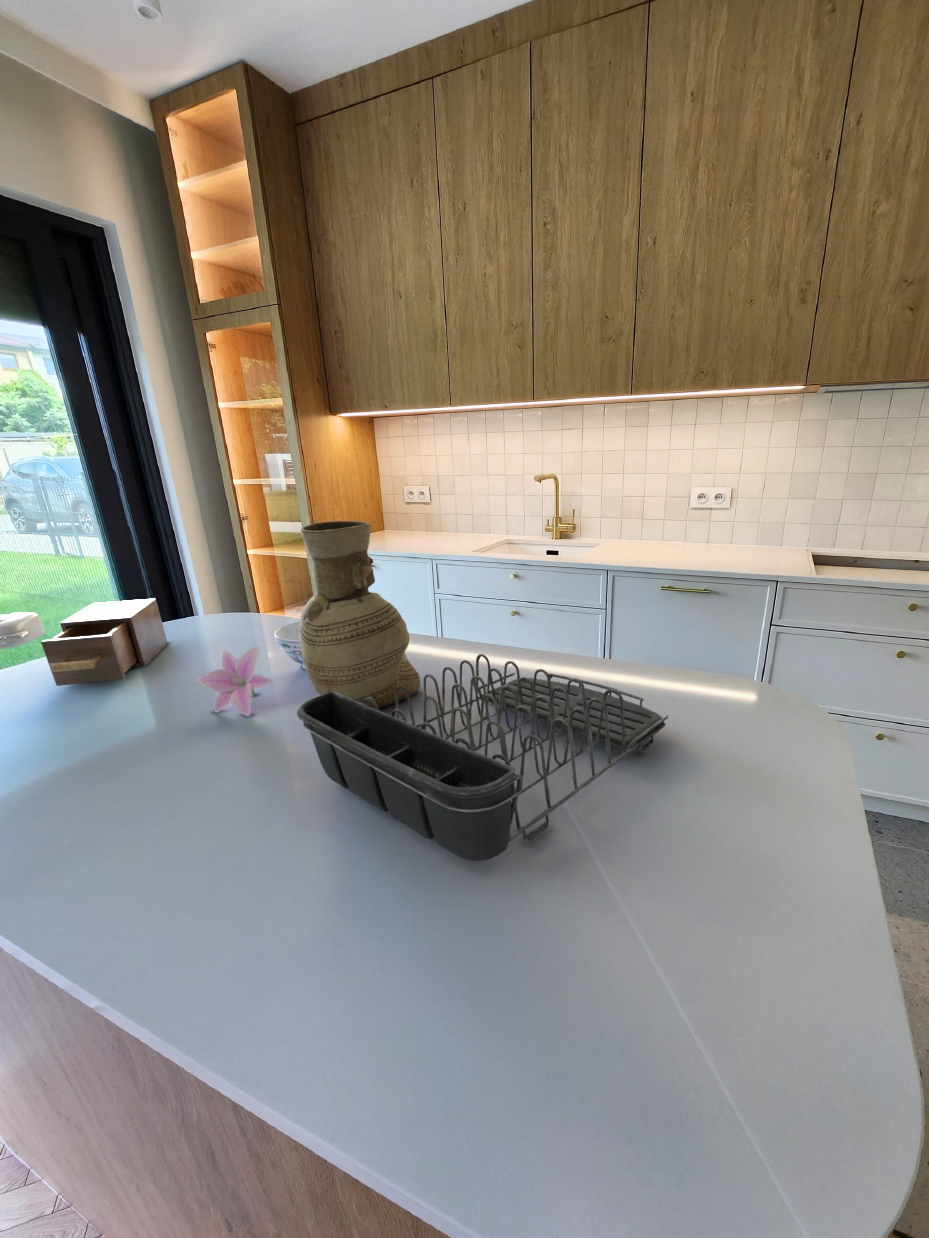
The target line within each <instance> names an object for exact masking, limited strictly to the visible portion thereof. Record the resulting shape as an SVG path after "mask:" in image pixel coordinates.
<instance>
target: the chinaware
mask: <svg viewBox="0 0 929 1238" xmlns="http://www.w3.org/2000/svg"><path fill="white" fill-rule="evenodd" d="M299 628H300V620H299V621H294V622H291V623H287V624H285V625H282V626H281V627H279V628H278V629H276V630H275V632H274V638H275V640H276V642H277V644H278V646H279V648H280V650H282V652H283V653H284V654H285V655H286V656H287V657H288V658H289V659H291V660H292V661H293V662H295V663H297V664H300V665H302V667H303V669H304V670H306V669H305V666H304V663H303V658H302V653H301V646H300V637H299Z"/></svg>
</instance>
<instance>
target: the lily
mask: <svg viewBox="0 0 929 1238" xmlns="http://www.w3.org/2000/svg"><path fill="white" fill-rule="evenodd" d="M259 651H260V646H259V645H255V646H253V647H251V648H250V649H247V650H246V651H245V652H244V653H242V654H241V655H240V656H239V657H238V658H236V657H235V656H234V655H233V654H232V653H231V652H229V650H227V649H224V650H223V651H222V656H221V668H218V669H214V670H212V671H209V672H207V673H204V674H202V675H201V676H199V677H198V678H197V683H199V684H200V685H201V686H203V687H205V688H207V689H209V690H211V691H213V692H217V693H218V694H217V696H216V701H215V705H214V713H215V714H216V713H219V712H220V711H222V710H223V709H225V708H226V707H228V706H229V705H231V704H232V705H233V707H235V708H236V709H237V710H238V711H239V712H240V713H241V714H242V715H244V716H246V717H250V715H251V713H252V712H251V711H252V695H253V696H254V697H256V696H257V694H256V693H255V691H256V690H258V689H260V688H264V687H265V686H267V685H270V684H271V683H272V680H271V679H269V678H268V677H266V676H264V675H262V674H260V673H257V672H255V669H256V664H257V660H258V656H259Z"/></svg>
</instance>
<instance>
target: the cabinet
mask: <svg viewBox="0 0 929 1238" xmlns="http://www.w3.org/2000/svg"><path fill="white" fill-rule="evenodd" d="M124 621H128V625H129V628H130V631H131V635H132V638H133V642H134V645H135V648H136V652H137V655H138V658H139V660H138V661H136V662H135V663H134V664H133V665H132V666H131V667H130V668H129V669H131V668H132V669H133V668H141V667H146V666H147V665H148V664H149V663H150V662H151V661H152V660H153V659H154V658H155V657H156V656H157V655H158V654H159V653H160V652H161V651H162V649H164V648H165V647H166V646H167V645H168V639H167V636H166V631H165V629H164V628H165V627H164V625H163V621H162V617H161V613H160V610H159V606H158V603H157V598H146V599H133V600H132V599H131V600H121V601H120V600H119V601H106V602H94V603H93V602H92V603H91V604H89V605H88V606H86V607H84V608H83V609H81V610H79V611H78V612H76V613H74V614H73V615H71V616H69V617H67V618H66V619H64V620H62V621H61V622H59V625H60V627H61V630H62V632H63V631H65V630H66V629H68V628H70V627H71V626H76V625H88V624H100V623H112V622H124Z"/></svg>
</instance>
